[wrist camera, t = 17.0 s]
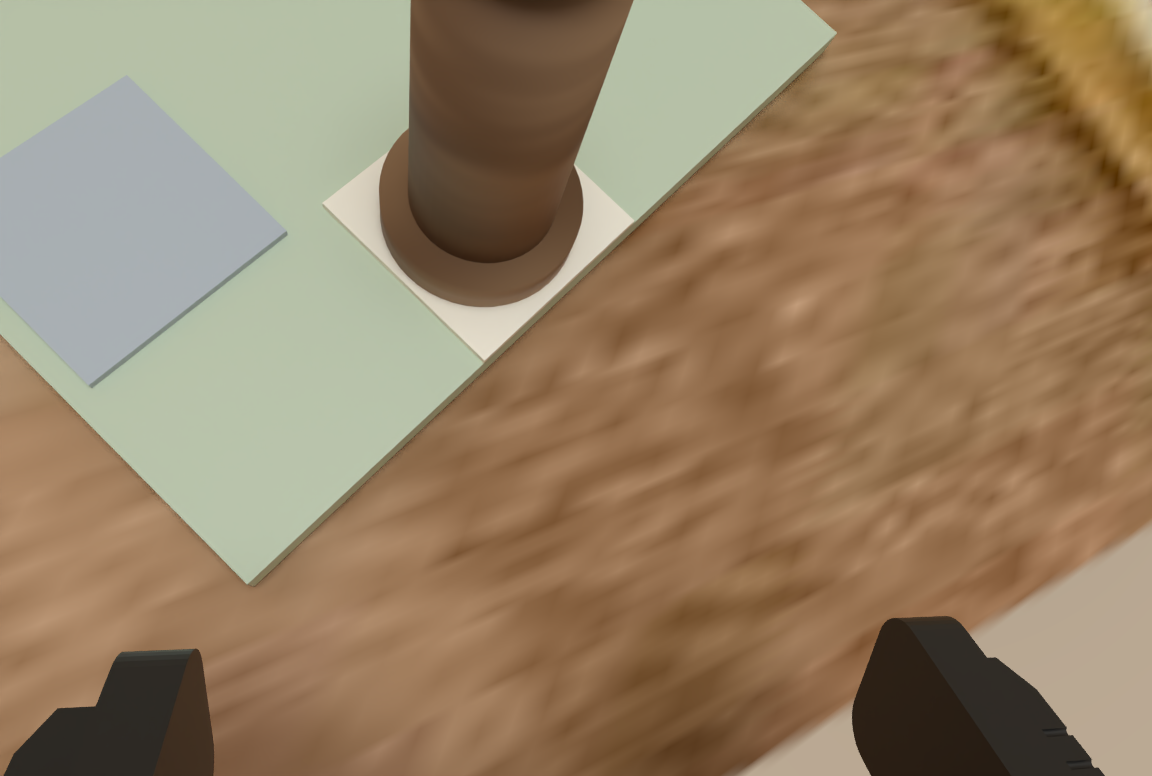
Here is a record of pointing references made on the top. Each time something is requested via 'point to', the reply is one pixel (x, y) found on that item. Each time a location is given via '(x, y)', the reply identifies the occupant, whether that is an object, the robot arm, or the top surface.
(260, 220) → the game board
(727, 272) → the top surface
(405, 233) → the pawn
